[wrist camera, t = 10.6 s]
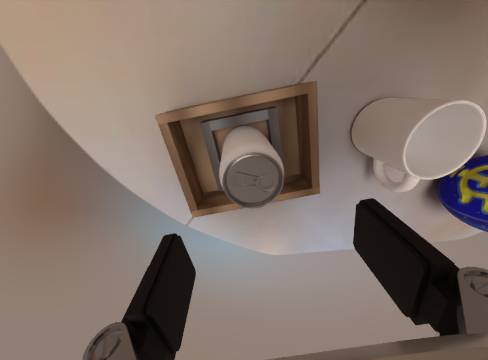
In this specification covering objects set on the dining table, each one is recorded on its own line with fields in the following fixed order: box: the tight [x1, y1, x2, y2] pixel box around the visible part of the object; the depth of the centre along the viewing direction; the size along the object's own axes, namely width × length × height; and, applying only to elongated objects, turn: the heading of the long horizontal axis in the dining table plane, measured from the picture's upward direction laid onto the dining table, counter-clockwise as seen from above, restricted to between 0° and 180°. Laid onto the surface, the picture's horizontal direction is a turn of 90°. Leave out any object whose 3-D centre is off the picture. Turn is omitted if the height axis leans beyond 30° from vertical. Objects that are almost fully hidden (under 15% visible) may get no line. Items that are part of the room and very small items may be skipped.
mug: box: [352, 98, 486, 192], centre depth 25 cm, size 12×8×10 cm
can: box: [219, 126, 284, 208], centre depth 23 cm, size 6×6×12 cm
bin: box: [155, 81, 320, 218], centre depth 27 cm, size 18×14×6 cm
